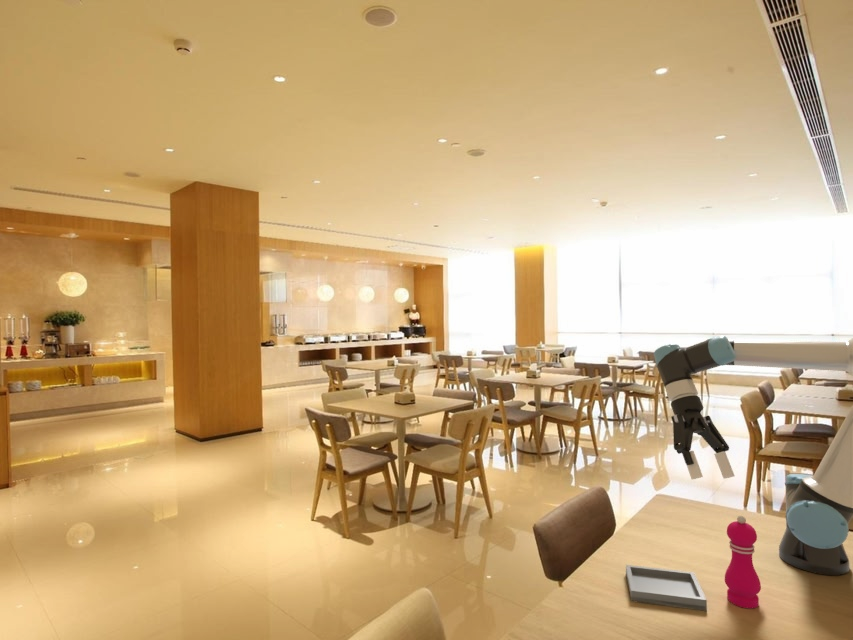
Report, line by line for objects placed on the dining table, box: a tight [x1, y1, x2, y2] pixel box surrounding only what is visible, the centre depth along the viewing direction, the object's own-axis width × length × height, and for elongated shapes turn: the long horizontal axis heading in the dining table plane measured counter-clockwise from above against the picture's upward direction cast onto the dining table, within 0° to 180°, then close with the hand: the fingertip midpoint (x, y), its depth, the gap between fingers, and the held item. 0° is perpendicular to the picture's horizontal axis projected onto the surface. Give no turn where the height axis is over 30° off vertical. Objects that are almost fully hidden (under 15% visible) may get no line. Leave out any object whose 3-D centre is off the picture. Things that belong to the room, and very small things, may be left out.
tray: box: [625, 564, 708, 612], centre depth 124 cm, size 16×13×2 cm
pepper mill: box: [724, 515, 762, 609], centre depth 119 cm, size 7×7×20 cm
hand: (713, 477), depth 130 cm, fingers open, 13 cm apart
